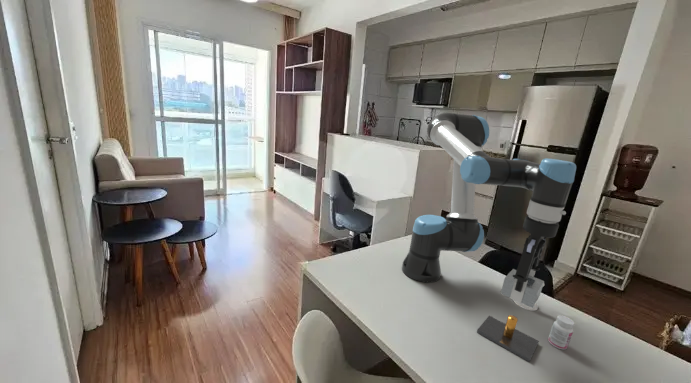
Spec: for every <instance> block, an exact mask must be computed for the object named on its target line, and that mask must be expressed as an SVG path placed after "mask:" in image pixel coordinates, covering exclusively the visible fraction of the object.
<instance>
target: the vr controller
mask: <svg viewBox="0 0 691 383" xmlns="http://www.w3.org/2000/svg"><path fill="white" fill-rule="evenodd" d="M544 286H545V283H544V284H543V287H544ZM512 301H513V302H514V303H515V304H516V305H517V306H518V307H519V308H523V310H527V311H532V312H533V311H537V310H538V304H537V302H536V303H535V305H534V307H533V308H532V307H529V306H527V305H525V304H523V303H519V302H517V301H515V300H513V299H512Z"/></svg>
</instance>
